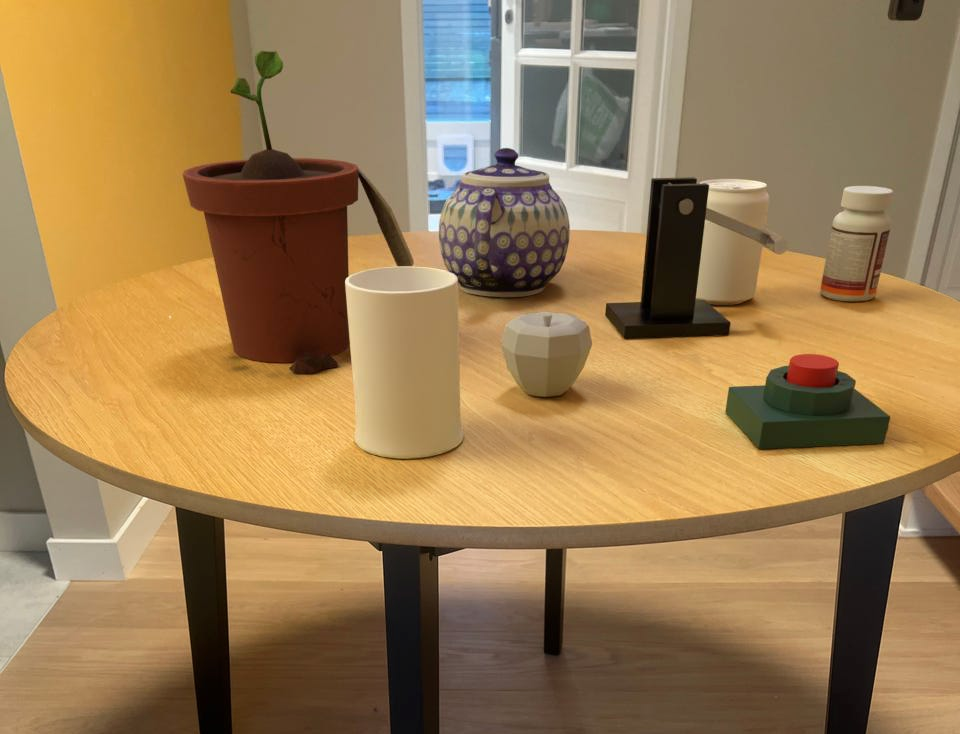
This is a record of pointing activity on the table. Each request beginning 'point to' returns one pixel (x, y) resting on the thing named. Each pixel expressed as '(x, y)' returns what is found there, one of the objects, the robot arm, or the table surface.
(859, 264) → the pill bottle
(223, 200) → the potted plant
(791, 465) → the table surface
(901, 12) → the robot arm
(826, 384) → the button
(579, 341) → the apple
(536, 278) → the teapot
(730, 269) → the beverage can
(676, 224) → the bracket
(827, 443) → the button box
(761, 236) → the lever
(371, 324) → the mug
